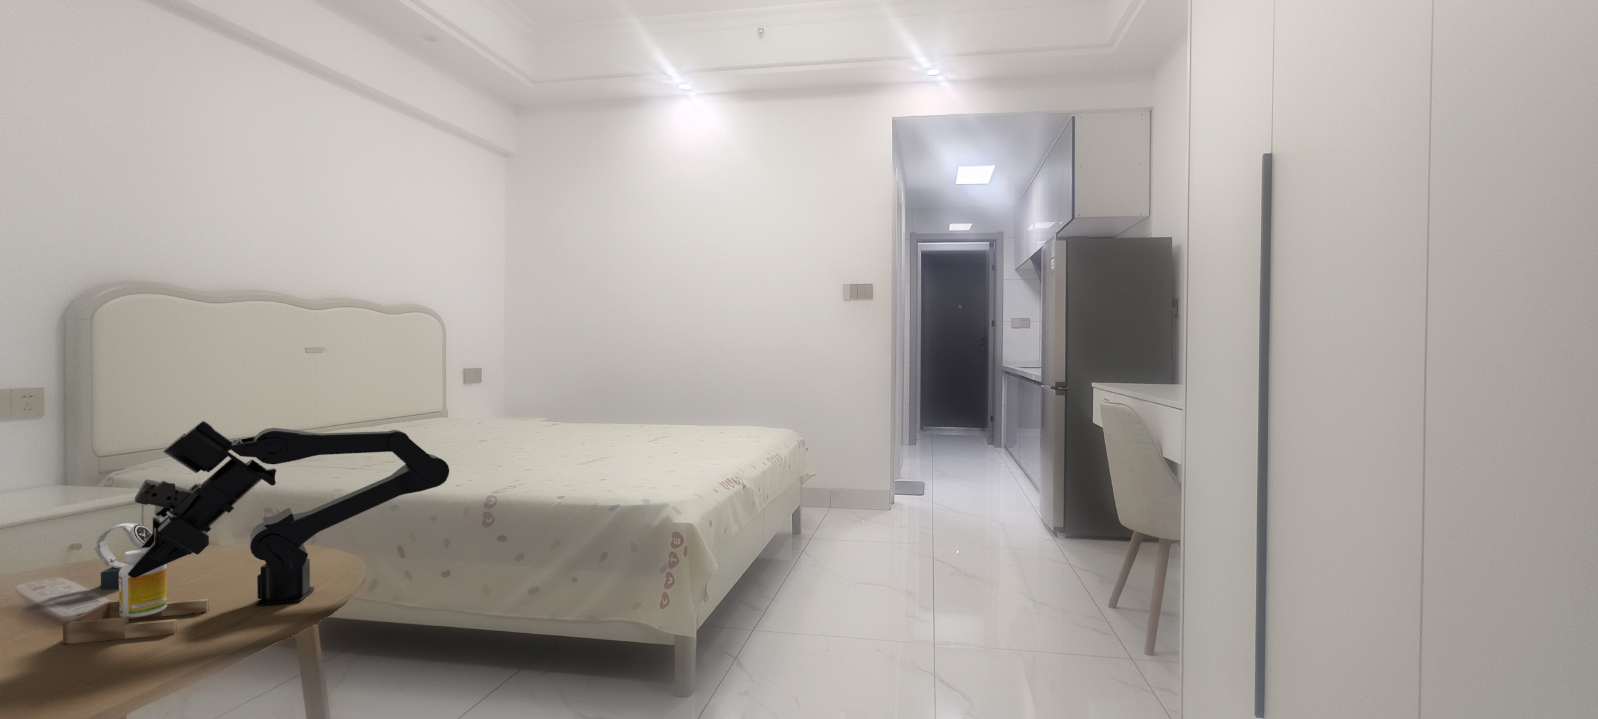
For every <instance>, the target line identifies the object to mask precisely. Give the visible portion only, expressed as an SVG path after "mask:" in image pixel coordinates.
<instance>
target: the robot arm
mask: <svg viewBox="0 0 1598 719" xmlns="http://www.w3.org/2000/svg"><path fill="white" fill-rule="evenodd" d="M229 451H232V452H233V453H234V454H236V455H238V456H240V457H243V458H256V459H257V460H258V461H259V462H261V463H262V464H265V465H279V464H280V465H281V464H285V463H289V462H294V461H300V460H304V459H307V458H312V457H316V456H327V455H345V454H346V455H347V454H367V453H368V454H369V453H370V454H372V453H388V452H389V453H393V454H394V455H395V456H396V457H397V458H398V459H399V460H401V461H402V462H403V463H404V464H403V465H402V466H401V467H399V468H398V469H397V470H396V471H394V472H393V473H392V474H391V475H388V476H387V477H384V478H382V479H380V480H377V481H375V482H373V483H370V484H367V485H366V486H363V487H361V488H359V489H356V490H354V491H352V492H350V493H347V494H345V495H342V496H340V497H337V498H336V499H333V500H331V501H329V502H326V503H324V504H321V505H319V506H317V507H315V508H312V509H310V510H307V511H304V512H297V513H293V512H292V509H291V507H287V508H285V509H284V510H281V511H280V512H278V513H276V514H274V515H272V516H265V517H262V520H263V521H262V522H261V523H258V524H257V525H256V526H255V527H253V529H252V530H251V532H250V534H249V538H248V541H249V549H250V552H251V554H252V555H253V556H254V558H256V559H258V560H259V561H264V562H265V563H264V564H263V565H261V566H260V573H259V574H258V575H257V576H256V584H257V585H256V586H257V587H256V589H257V599H258V600H257V601H256V602H255V606H266V605H267V606H268V605H278V604H291V603H299V602H301V601H302V600H303V599H305V598H306V597H307V596H309V595H310V594H311V593H312V592H313V591H314V590H315V586H311V572H310V571H311V562H310V561H311V558H309V553H308V551H307V548H306V545H305V543H306V542H308V541H309V540H310V539H311V538H313V537H314V536H315V535H316V534H319V533H320V532H323V531H324V530H327V529H328V528H331V527H333V526H335V525H338V524H340V523H342V522H344V521H346V520H349V519H351V518H353V517H355V516H358V515H360V514H362V513H364V512H366V511H369V510H370V509H373V508H376V507H378V506H380V505H382V504H385V503H387V502H388V501H390V500H394V499H396V498H398V497H400V496H404V495H409V494H413V493H414V494H415V493H419V492H423V491H427V490H430V489H434V488H437V487H440V486H442V485H443V484H445V483H446V482H447V480H448V477H449V474H450V468H449V465H448V463H447V462H446V460H444V459H443V458H440V457H438V456H436V455H435V454H434V455H433V454H430V453H427V452H426V451H425V450H424V449H423V448H421V446H419V445H418V444H417V443H415V441H413V440H412V439H411V438H410V437H409V435H408V434H406V433H405V432H403V431H402V430H399V429H391V430H387V431H385V430H384V431H383V430H382V431H357V432H356V431H353V432H347V431H346V432H320V433H319V432H310V431H305V430H296V429H288V428H282V427H281V428H280V427H270V428H265V429H263V430H260V432H258V433H257V434H256V435H255V436H250V437H245V438H238V439H233V440H230V439H229V438H228V437H226V436H224V435H223V434H222V433H220V432H219V431H217V430H216V429H215V428H213V426H212V425H211V424H209V422H207V421H205V420H201V422H199V423H198V424H197V425H195V426H194V427H192V428H191V429H190V430H188V431H187V432H186V433H182V435H181V436H179V437H177V439H175V440H174V441H173V442H171V444H169V445H168V446H167V447H166V448H165V449H164V450H163V451H162V452H163V453H164V454H165V455H167V456H168V457H170V458H172V459H173V460H175V461H176V462H178V463H179V464H181V465H183V466H184V467H185V468H187V469H189V470H190V471H192V472H193V473H195V474H198V473H199V472H200V471H202V472H203V473H204V472H206V473H211V471H213V470H214V469H216V468H217V467H218V466H219V465H220V464H221V463H222V462H223V461H224V460H225V459H227V457H229V458H230V459H228V461H227V462H225V463H224V464H222V466H220V467H219V468H218V469H217V470H216V471H215V472H213V473H212V474H211V475H210V476H209V477H207V478H206V479H205V480H204V481H203V482H202V483H200V482H199V483H195V484H193V485H192V486H191V487H190V488H184V487H181V486H177V485H176V483H174V482H167V481H165V480H162V481H158V480H157V481H156V480H153V479H145V480H144V481H143V483H142V484H141V487H140V488H139V490H138V492H137V493H136V495H135V497H134V502H135V503H137V504H142V505H145V506H147V505H151V506H155V507H158V508H157V509H156V510H154V515H155V516H157V517H160V516H161V517H160V518H159V519H158V518H156V517H154V516H153V517H152V519H151V520H152V530H151V531H152V533H151V535H150V536H149V537H148V539H147V540H146V541H145V543H144V544H143V545H142V547H141V548H147V547H150V548H149V549H148V550H147V551H146V552H145V553H144V555H143V556H142V557H141V558H140V559H139V561H138V562H137V563H136V564H135V565H134V566H133V568H132V569H131V570H130V571H129V573H128V575H129V576H130V577H132V578H136V577H138V576H140V575H143V574H145V573H147V572H149V571H151V570H154V569H156V568H158V567H160V566H162V565H165V564H166V565H167V564H169V563H172V562H174V561H177V560H179V559H181V558H183V557H186V556H188V555H192V554H195V555H199V554H201V552H203V551H204V550H205V549H206V548H207V547H208V546H209V545H210V536H209V534H208V532H210V531H211V530H212V527H211V526H213V525H214V524H215V523H216V522H217V521H218V520H219V519H220V518H221V517H222V516H223V515H225V514H226V513H228V514H230V513H231V512H232V511H233V510H234V509H235V507H234V506H235V505H236V503H238V502H239V501H240V500H241V499H242V498H243V497H245V495H246V494H247V493H249V492H250V491H251V490H253V488H255V486H257V485H258V484H259V483H260V482H261V481H264V482H265V483H267V484H268V485H270V486H271V487H272V486H275V485H276V484H277V483H276V474H277V469H276V468H266V467H264V466H263V465H261V464H260V463H259V462H257V461H256V460H255V459H250V460H248V461H247V462H245V461H244V460H243V461H242V460H241V459H240V458H239V457H237V456H236V455H234V454H233V453H231V452H229Z"/></svg>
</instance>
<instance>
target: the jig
mask: <svg viewBox="0 0 1598 719" xmlns="http://www.w3.org/2000/svg"><path fill="white" fill-rule="evenodd" d="M207 611H208V612H210V599H209V598H201V599H189V600H178V601H167V607H166V608H165V609H163V610H162V611H159V612H157V613H154V614H151V615H146V616H140V617H133V618H128V617H121V616H120V612H119V599H118V600H117V599H115V600H107V601H105V602H104V603H102V604H100V605H98V606H95V607H93V608H92V609H90V610H88V611H86V612H83V613H82V614H80V615H78V616H76V617H74V618H72V619H70V620H68V621H66V622H65V623H63V624H62V645H71V644H82V643H90V642H91V643H92V642H103V641H112V640H115V641H116V640H125V639H126V640H127V639H134V638H144V637H154V636H156V637H157V636H167V635H174V634H176V633H178V619H177V618H174V619H161V620H150V621H140V622H138V621H137V622H130V623H129V620H136V619H146V618H147V619H148V618H159V617H160V618H161V617H170V616H172V617H173V616H182V615H192V614H191V613H195V614H202V613H201V612H207ZM208 612H207V613H208ZM64 643H65V644H64ZM66 643H67V644H66Z"/></svg>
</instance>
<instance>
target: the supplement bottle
mask: <svg viewBox="0 0 1598 719" xmlns="http://www.w3.org/2000/svg"><path fill="white" fill-rule="evenodd" d="M149 548H150V547H147V548H140V549H138V548H136V549H131V550H128V551H126V552H125V553H124V563H127V565H126V566H124V567H122V568H121V569H120V571H119V588H118V600H119V612H120V616H121V617H128V618H133V617H140V616H146V615H151V614H154V613H157V612H159V611H162V610H163V609H165V608H166V607H167V602H168V594H167V593H168V592H167V591H168V590H167V587H168V586H167V585H168V584H167V564H165V565H162V566H160V567H158V568H156V569H154V570H151V571H149V572H147V573H145V574H143V575H140V576H138V577H136V578H132V577H130V576H129V575H128V573H129V571H130V570H131V569H132V568H133V566H134V565H135V564H136V563H137V562H138V561H139V559H140V558H141V557H142V556H143V555H144V553H145V552H146V551H147V550H148V549H149Z"/></svg>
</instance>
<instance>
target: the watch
mask: <svg viewBox="0 0 1598 719" xmlns="http://www.w3.org/2000/svg"><path fill="white" fill-rule="evenodd" d="M120 528H122V530H123V531H124V533H126V538H127V540H128V542H129V543H130V544H131V545H132V546H133V547H134V548H136V549H140V548H141V547H142V545H143V544H144V543H145V541H146V540H147V539H148V537H149V536H150V535H151V533H152V531H153V530H151V529H150V528H149V527H148V526H146V525H144V524H142V523H136V522H135V523H134V522H124V523H123V522H122V523H120V524H117V525H114V526H111V527H109V528H107V529H105V530H104V531H102V532H101V533H100V534H99V535H98V537H97V538H96V541H95V548H94V549H95V552H96V555H97V556H98V557H99V559H100V560H101V562H102V563H103V564H104V565H105V566H107V567H108V566H109V568H107V569H104V570H102V571H101V572H100V590H110V589H111V590H112V589H119V571H120V569H121V568H122V567H124V566H126V565H127V563H126V562H121V561H120V562H119V561H118V559H117V557H116V556H115V555H114V554H113V552H112V551H111V550H110V547H109V544H108V545H107V540H106V538H107V536H108V534H110V533H111V531H113V530H114V529H120Z"/></svg>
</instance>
